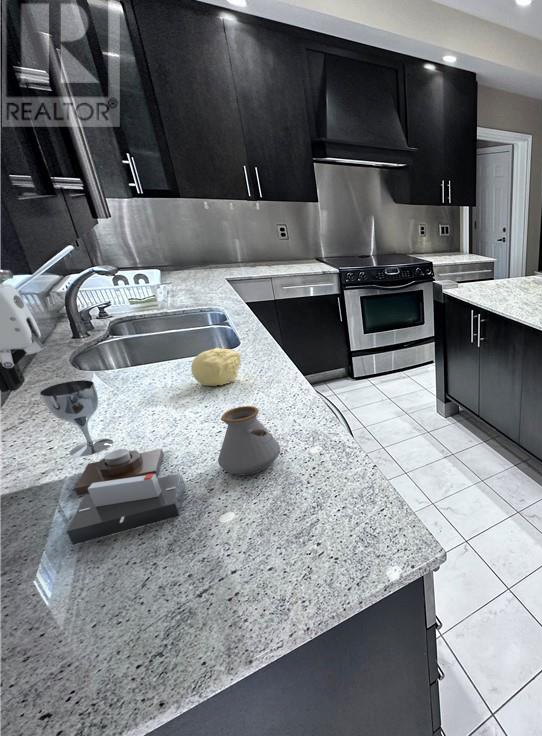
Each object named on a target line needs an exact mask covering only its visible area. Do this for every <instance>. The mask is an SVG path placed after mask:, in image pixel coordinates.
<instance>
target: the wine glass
mask: <svg viewBox="0 0 542 736" xmlns="http://www.w3.org/2000/svg"><path fill="white" fill-rule="evenodd" d="M39 395H40V397H41V399H42V401H43V404H44V405H45V406H46V408H47V409H48V411H49V412H50V413H51V414H52V415H53V416H54V417H55V418H58V419H59V420H62V421H65V422H68V423H70V424H73V425H75V426H76V427H78V428H79V429H80V432H82V434H83V436H84V438H85V441H86V442H83V443H80V444H79V445H76V446H75V447H73V448H72V449H70V451H69V455H70V456H72V457H86V456H91V455H94V454H98V453H101V452H103V451H105V450H107V449H109V448H110V447H111V446H112V445H113V444H114V440H112V439H111V438H98V439H94V440H92V437H91V435H90V431H89V426H88V425H89V422H90V420H91V418H92V416H93V415H94V414H95V413H96V411H97V410H98V407H99V396H98V390H97V388H96V385H95V383H94V381H92V380H86V379H85V380H82V379H81V380H71V381H66V382H61V383H57V384H54V385H50V386H47V387H46V388H43V389H42V390H41V391H40V392H39Z"/></svg>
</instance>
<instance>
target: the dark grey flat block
mask: <svg viewBox="0 0 542 736" xmlns="http://www.w3.org/2000/svg"><path fill="white" fill-rule="evenodd" d="M157 479H158V482H159V485H160V488H161V491H162V492H161V493H160V495H159V496H158V497H154V498H148V499H142V500H135V501H129V502H123V503H117V504H111V505H104V506H98V507H95V505H94V503H93V500H92V498H91V496H90V493H87V494H84V496H83V498H82V500H81V502H80V503H79V506H78V507H77V509H76V511H75V514H74V516H73V518H72V520H71V522H70V524H69V525H68V528H67V529H66V533H67V536H68V537H69V540H70V541H71V544H72V546H75V545H79V544H84V543H86V542H89V541H94V540H97V539H100V538H104V537H108V536H112V535H116V534H119V533H123V532H127V531H130V530H134V529H137V528H141V527H145V526H149V525H153V524H156V523H159V522H162V521H167V520H171V519H174V518H178V517H180V514H181V510H182V504H183V499H184V493H185V488H186V483H185V480H184V477H183V474H182V472H179V473H176V474H171V475H167V476H163V477H157Z"/></svg>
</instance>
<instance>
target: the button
mask: <svg viewBox="0 0 542 736" xmlns="http://www.w3.org/2000/svg"><path fill="white" fill-rule="evenodd" d="M129 451H130V450H129V449H126V448H121V449H116V450H112V451H110V452H108V453H106V454H105V456H104V458H105V460H106V463H107V465H108V466H115V465H120V464H122V463H125V462H127V461H129V460H130V459H131V456H130V454H129Z"/></svg>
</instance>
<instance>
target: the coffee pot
mask: <svg viewBox="0 0 542 736" xmlns="http://www.w3.org/2000/svg"><path fill="white" fill-rule="evenodd" d="M259 411H260V410H259V409H258V407H256V406H252V405H245V406H237V407H235V408H232V409H229V410H227V411H226V412H224V413H223V414H222V416H221V417H220V421H222V422H224V424H226V425H227V428H226V431H225V434H224V437H223V440H222V441H223V442H222V443H221V447H220V450H219V455H218V457H217V458H218V459H217V462H218V463H217V464H218V465H219V467H220V468H222V469H223V470H224V471H226V472H229V473H230V474H231V473H232V474H235V475H237V476H238V475H239V476H248V475H253V474H258V473H259V472H262V471H264V470H266V469H267V468H268V467H269V466H271V465H272V463H274V462H275V460H276V459H277V458H278V456H279V453H280V451H281V450H280V449H281V446H280V444H279V442H278V441H277V440H276V439H275V438H274V436H273V435H272V433H271V432H269V431H268V429H267V428H266V427H265V426H264V425H263V424H262V422H260V421H259V419H258V418H257V416H258V414H259Z"/></svg>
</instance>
